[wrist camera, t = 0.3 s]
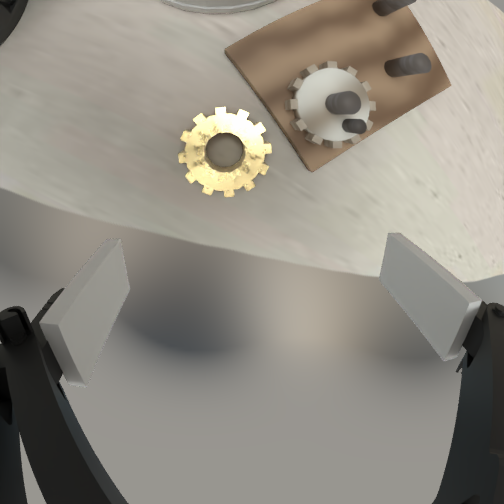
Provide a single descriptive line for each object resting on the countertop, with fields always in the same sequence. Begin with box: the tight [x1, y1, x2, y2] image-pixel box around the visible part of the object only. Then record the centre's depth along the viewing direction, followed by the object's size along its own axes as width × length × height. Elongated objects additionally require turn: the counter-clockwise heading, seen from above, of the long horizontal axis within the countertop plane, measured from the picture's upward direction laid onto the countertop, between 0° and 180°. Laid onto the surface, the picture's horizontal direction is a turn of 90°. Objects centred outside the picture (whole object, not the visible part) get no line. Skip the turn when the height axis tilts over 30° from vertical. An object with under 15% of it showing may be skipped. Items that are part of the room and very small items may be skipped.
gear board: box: [225, 0, 451, 172], centre depth 26 cm, size 18×26×9 cm
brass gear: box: [178, 107, 272, 197], centre depth 32 cm, size 10×10×4 cm
